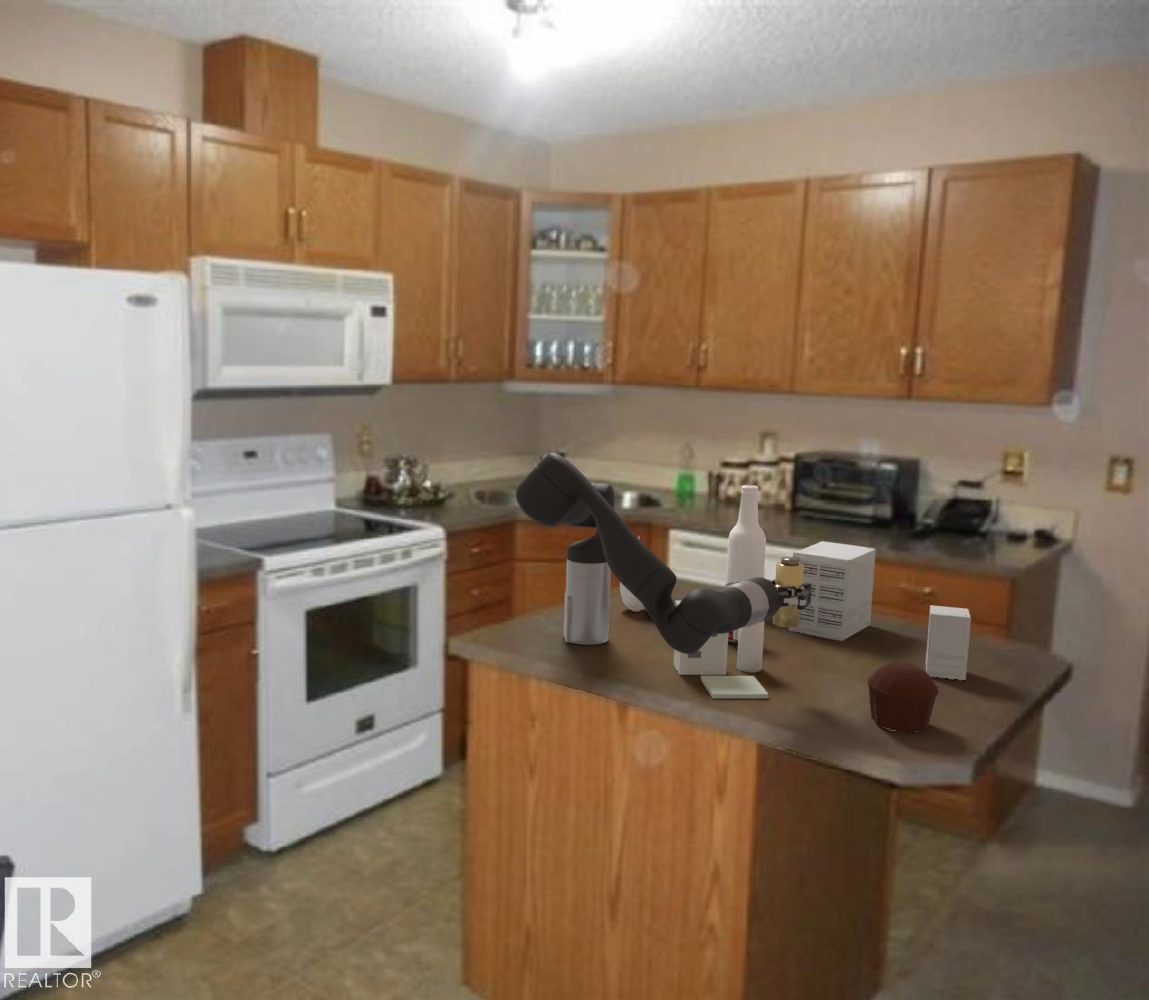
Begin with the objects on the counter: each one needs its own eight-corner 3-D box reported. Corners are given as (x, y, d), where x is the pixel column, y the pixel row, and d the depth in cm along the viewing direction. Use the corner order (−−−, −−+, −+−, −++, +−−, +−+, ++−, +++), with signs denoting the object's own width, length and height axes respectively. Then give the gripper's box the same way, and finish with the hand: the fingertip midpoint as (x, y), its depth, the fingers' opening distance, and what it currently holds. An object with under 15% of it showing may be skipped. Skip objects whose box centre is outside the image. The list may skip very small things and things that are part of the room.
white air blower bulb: (634, 604, 238) (637, 531, 235) (659, 611, 232) (662, 536, 230) (612, 610, 232) (615, 534, 230) (637, 616, 227) (640, 540, 224)
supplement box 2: (964, 670, 194) (969, 608, 192) (966, 682, 187) (971, 617, 185) (924, 666, 196) (929, 604, 194) (924, 676, 189) (930, 612, 188)
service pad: (712, 698, 174) (712, 694, 174) (700, 679, 184) (701, 675, 183) (768, 698, 175) (768, 694, 174) (753, 680, 184) (753, 675, 184)
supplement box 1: (816, 615, 233) (821, 540, 230) (871, 625, 225) (877, 548, 223) (786, 630, 219) (791, 551, 216) (843, 642, 211) (849, 559, 209)
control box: (678, 676, 185) (681, 610, 183) (671, 664, 192) (674, 600, 191) (728, 676, 186) (732, 610, 184) (720, 664, 193) (723, 600, 191)
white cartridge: (740, 672, 189) (743, 611, 187) (734, 664, 194) (737, 605, 192) (764, 672, 189) (768, 611, 187) (758, 664, 194) (761, 605, 192)
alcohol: (753, 617, 230) (760, 489, 225) (718, 611, 234) (724, 486, 230) (767, 609, 237) (774, 486, 233) (733, 603, 242) (740, 482, 237)
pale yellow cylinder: (777, 627, 176) (781, 561, 174) (769, 620, 180) (773, 555, 178) (803, 627, 176) (807, 562, 174) (795, 620, 181) (799, 556, 179)
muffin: (865, 707, 171) (869, 652, 170) (932, 715, 168) (937, 659, 167) (864, 731, 160) (869, 672, 159) (936, 741, 157) (942, 680, 156)
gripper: (710, 616, 171) (759, 599, 184) (784, 633, 162) (830, 613, 175) (712, 574, 170) (762, 559, 183) (787, 588, 161) (833, 572, 174)
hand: (795, 586), depth 179 cm, fingers closed on pale yellow cylinder, 4 cm apart
